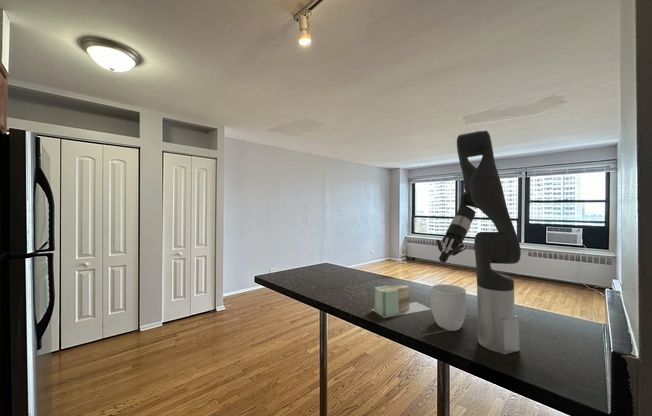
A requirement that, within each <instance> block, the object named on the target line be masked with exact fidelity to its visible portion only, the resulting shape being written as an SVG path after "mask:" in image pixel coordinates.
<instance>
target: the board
mask: <svg viewBox="0 0 652 416" xmlns="http://www.w3.org/2000/svg"><path fill="white" fill-rule="evenodd" d="M409 308H410V310H404V311H399V314H394V315H388V316H383V315H381V314H380V313H378V312H377V311H375V308H372V309H371V311H373V312H374V313H376V314H377V315H379V316H381V317H382V318H384V319H385V318H391V317H397V316H401V315H408V314H412V313H418V312H419V313H420V312H423V311H430V310H431V307H428V306H426V305H424V304H422V303H419V302H417V301H414V302H409Z"/></svg>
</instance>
